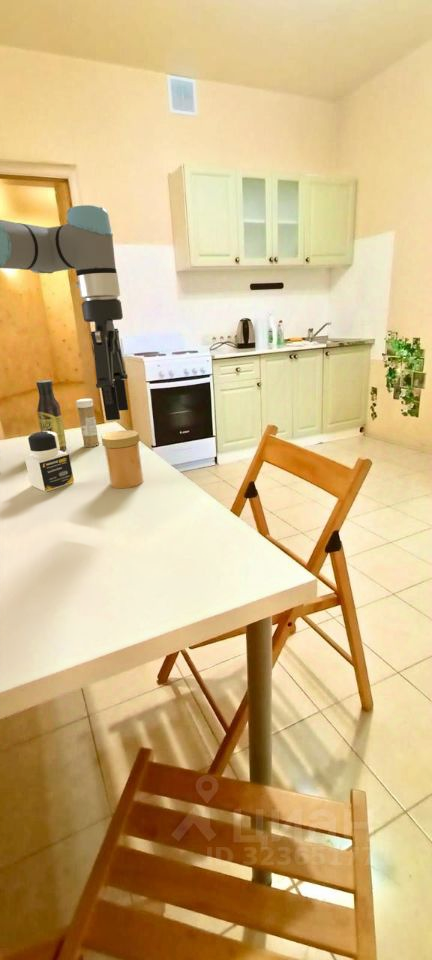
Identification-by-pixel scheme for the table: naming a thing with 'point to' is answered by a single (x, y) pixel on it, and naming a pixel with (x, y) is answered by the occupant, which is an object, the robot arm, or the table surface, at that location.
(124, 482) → the jar
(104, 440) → the lid
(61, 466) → the medicine bottle
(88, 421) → the sprinkles bottle
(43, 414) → the sauce bottle
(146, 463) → the table surface
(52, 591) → the table surface
